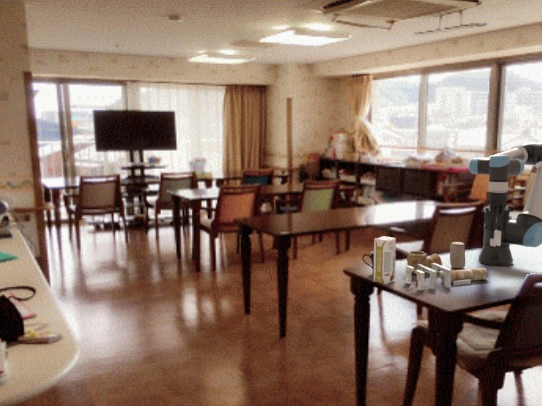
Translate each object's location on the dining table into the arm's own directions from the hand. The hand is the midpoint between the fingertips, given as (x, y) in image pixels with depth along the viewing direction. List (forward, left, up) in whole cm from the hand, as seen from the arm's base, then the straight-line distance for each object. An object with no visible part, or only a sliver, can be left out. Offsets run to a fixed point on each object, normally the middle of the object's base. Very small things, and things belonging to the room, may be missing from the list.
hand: (495, 245), depth 212 cm
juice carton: (+48, -10, -15) cm, 51 cm away
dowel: (+15, 0, -14) cm, 21 cm away
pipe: (+24, -16, -15) cm, 33 cm away
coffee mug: (+45, -22, -15) cm, 52 cm away
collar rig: (+27, 0, -14) cm, 31 cm away
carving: (+5, -19, -15) cm, 24 cm away
